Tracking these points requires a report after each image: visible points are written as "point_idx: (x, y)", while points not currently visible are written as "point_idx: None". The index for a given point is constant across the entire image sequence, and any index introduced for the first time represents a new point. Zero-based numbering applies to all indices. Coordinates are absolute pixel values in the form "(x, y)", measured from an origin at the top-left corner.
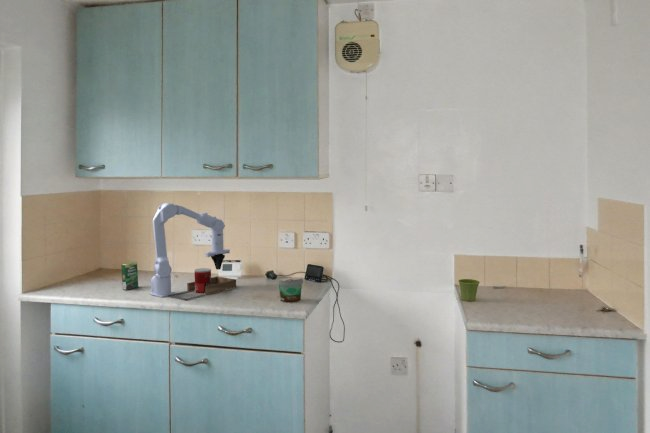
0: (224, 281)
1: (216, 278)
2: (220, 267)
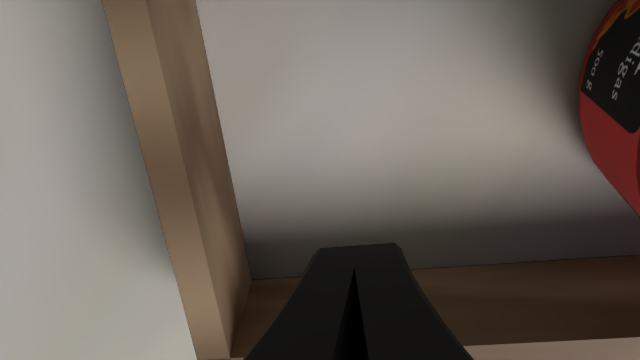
0: (207, 164)
1: (247, 339)
2: (327, 267)
